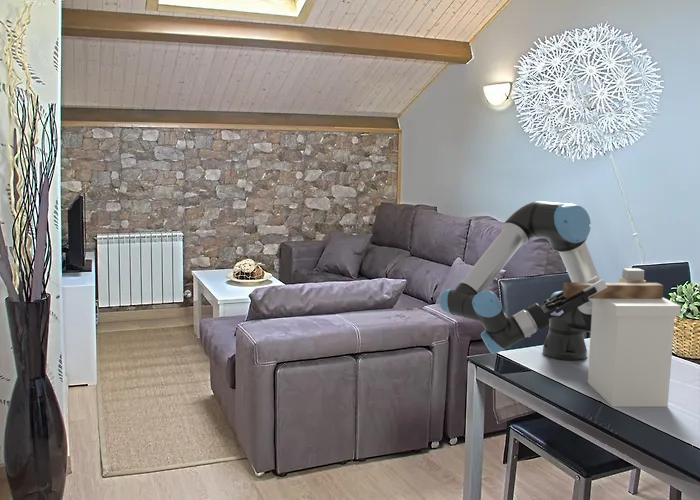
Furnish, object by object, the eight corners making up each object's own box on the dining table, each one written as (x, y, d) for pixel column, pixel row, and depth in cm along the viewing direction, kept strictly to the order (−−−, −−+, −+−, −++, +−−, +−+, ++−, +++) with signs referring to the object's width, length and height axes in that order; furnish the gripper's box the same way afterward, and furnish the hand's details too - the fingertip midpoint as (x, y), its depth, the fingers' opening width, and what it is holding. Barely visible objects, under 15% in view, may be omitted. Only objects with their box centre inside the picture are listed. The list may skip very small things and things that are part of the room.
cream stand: (610, 408, 194) (616, 305, 189) (583, 381, 216) (588, 289, 211) (672, 408, 194) (680, 306, 190) (639, 381, 216) (646, 289, 211)
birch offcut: (625, 293, 205) (626, 280, 205) (618, 290, 210) (619, 277, 210) (645, 293, 205) (646, 280, 205) (638, 290, 210) (639, 277, 210)
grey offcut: (627, 280, 205) (628, 270, 205) (622, 277, 209) (622, 268, 209) (643, 280, 205) (644, 270, 205) (638, 277, 209) (638, 268, 209)
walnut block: (567, 298, 198) (567, 285, 198) (562, 295, 202) (563, 282, 202) (662, 298, 199) (663, 285, 198) (656, 295, 202) (657, 282, 202)
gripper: (529, 323, 210) (597, 286, 209) (545, 338, 193) (619, 298, 192) (518, 302, 209) (586, 265, 208) (533, 316, 192) (607, 276, 191)
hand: (601, 281), depth 200 cm, fingers closed on walnut block, 4 cm apart
